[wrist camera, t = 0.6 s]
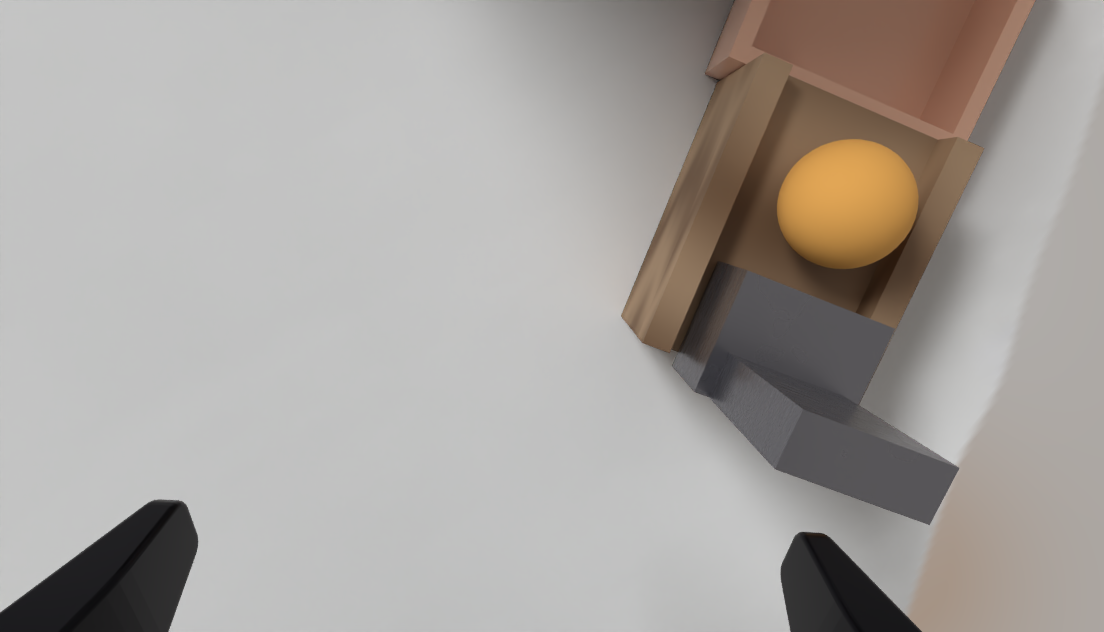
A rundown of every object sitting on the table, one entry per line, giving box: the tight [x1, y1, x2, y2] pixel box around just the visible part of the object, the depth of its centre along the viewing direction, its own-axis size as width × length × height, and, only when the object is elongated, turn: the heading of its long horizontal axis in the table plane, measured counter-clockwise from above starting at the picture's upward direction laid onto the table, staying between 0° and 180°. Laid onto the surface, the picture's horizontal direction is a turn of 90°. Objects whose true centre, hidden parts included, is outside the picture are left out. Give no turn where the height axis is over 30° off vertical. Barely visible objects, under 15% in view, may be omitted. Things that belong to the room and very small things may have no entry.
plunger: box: [672, 261, 959, 525], centre depth 18 cm, size 4×5×8 cm
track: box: [621, 53, 984, 399], centre depth 23 cm, size 10×8×5 cm
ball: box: [777, 139, 919, 269], centre depth 19 cm, size 4×4×4 cm
